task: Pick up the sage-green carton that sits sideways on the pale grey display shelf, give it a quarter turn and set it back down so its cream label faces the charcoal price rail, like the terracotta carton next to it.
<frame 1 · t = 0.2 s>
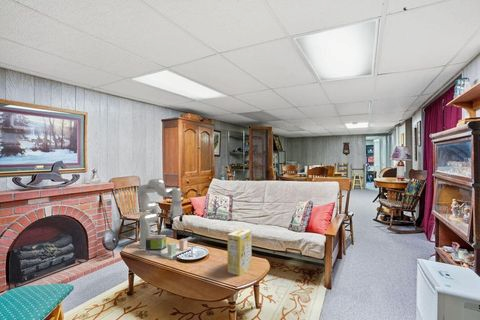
hand: (176, 222, 197), 30 cm above the table, fingers open, 9 cm apart
shelf: (176, 254, 204), on the table
pasta box: (239, 269, 176), on the table
tea box: (156, 252, 207), on the table
terracotta carton: (185, 250, 208), point 2 cm above the table, touching shelf
sage carton: (174, 253, 200), point 2 cm above the table, touching shelf
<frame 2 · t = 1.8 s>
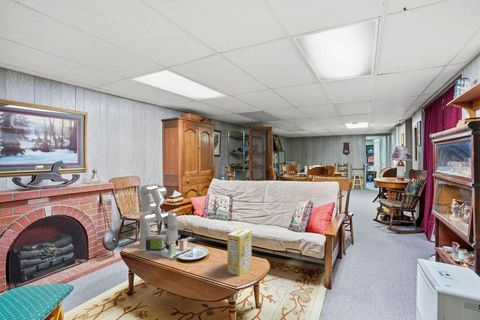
hand: (172, 247, 198), 8 cm above the table, fingers open, 9 cm apart
nothing on the table moved.
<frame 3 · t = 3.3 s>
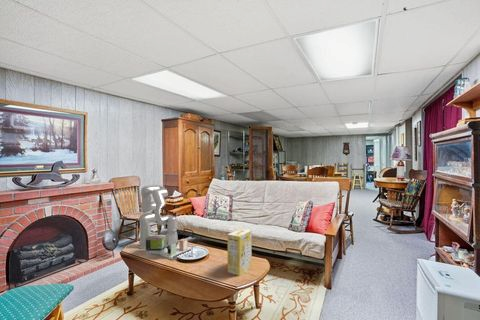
hand: (171, 252, 198), 4 cm above the table, fingers closed on sage carton, 5 cm apart
sage carton: (174, 253, 200), point 2 cm above the table, touching gripper, shelf
everything else where it was.
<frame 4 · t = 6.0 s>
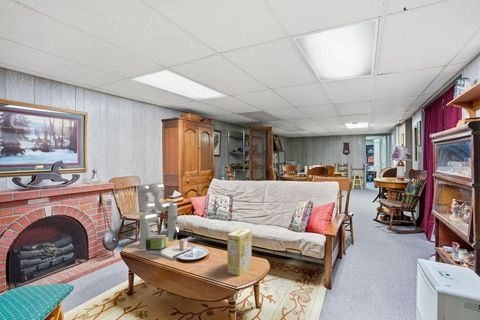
hand: (172, 238, 198), 16 cm above the table, fingers closed on sage carton, 5 cm apart
sage carton: (174, 241, 196), point 14 cm above the table, touching gripper
everything else where it was.
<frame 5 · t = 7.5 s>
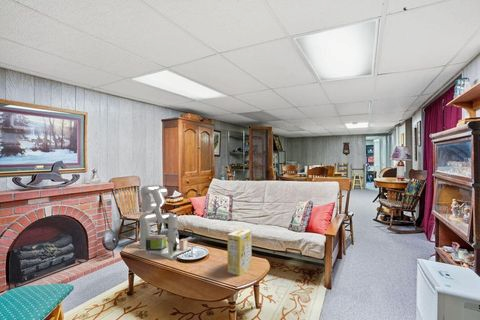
hand: (172, 250, 198), 6 cm above the table, fingers closed on sage carton, 5 cm apart
sage carton: (174, 252, 196), point 4 cm above the table, touching gripper
everything else where it was.
when the fingers open (5 cm above the table, at t = 8.6 s): sage carton stays where it is, resting on shelf.
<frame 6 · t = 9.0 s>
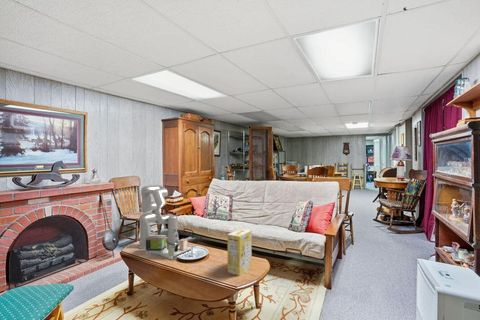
hand: (172, 250, 198), 6 cm above the table, fingers open, 9 cm apart
sage carton: (174, 255, 196), point 2 cm above the table, touching shelf
everything else where it was.
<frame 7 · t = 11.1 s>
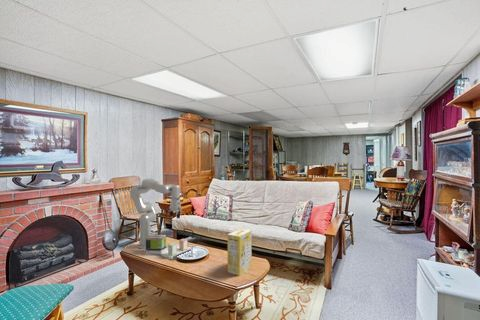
hand: (174, 217, 212), 31 cm above the table, fingers open, 9 cm apart
nothing on the table moved.
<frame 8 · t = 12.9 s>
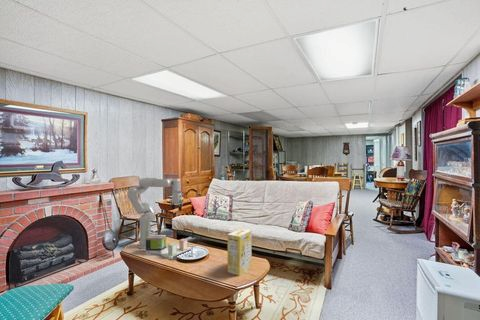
hand: (176, 209, 218), 36 cm above the table, fingers open, 9 cm apart
nothing on the table moved.
at the end: sage carton 1.0 cm from the target spot, point 2.0 cm above the table; sage carton tilted 0°; the gripper is holding nothing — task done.
